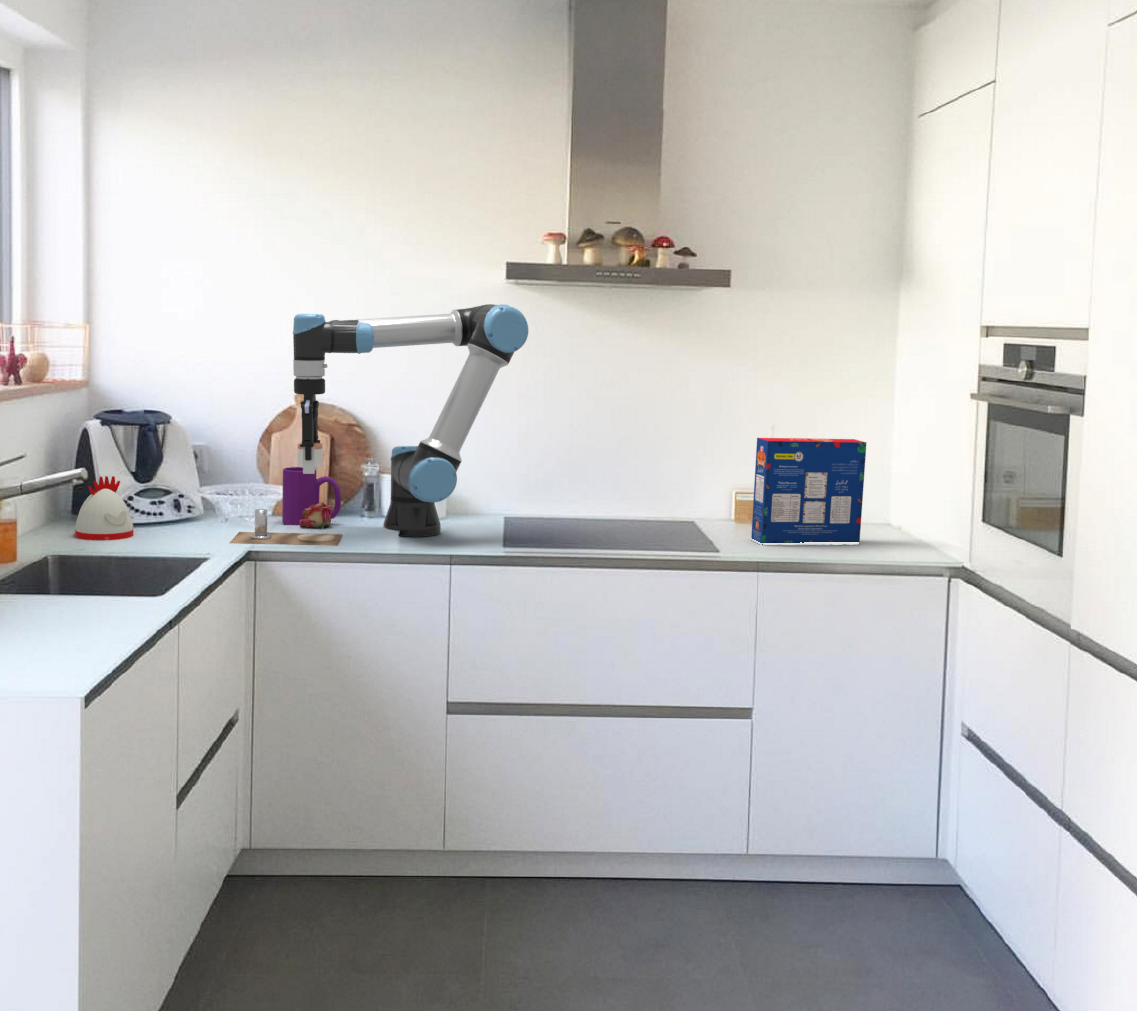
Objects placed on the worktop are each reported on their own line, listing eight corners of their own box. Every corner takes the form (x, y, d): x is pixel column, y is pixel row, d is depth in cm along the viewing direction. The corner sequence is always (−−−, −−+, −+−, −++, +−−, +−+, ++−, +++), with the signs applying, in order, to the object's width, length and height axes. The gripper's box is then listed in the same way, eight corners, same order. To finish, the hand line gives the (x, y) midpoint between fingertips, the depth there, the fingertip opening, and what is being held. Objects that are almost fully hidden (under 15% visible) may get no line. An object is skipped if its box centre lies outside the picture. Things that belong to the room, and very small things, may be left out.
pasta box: (847, 540, 385) (853, 439, 381) (859, 545, 378) (866, 442, 374) (751, 540, 379) (757, 437, 375) (761, 545, 371) (767, 440, 367)
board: (343, 540, 356) (343, 534, 355) (337, 551, 340) (337, 545, 340) (239, 537, 353) (239, 531, 353) (229, 549, 338) (229, 543, 337)
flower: (346, 526, 366) (335, 499, 369) (326, 523, 358) (315, 496, 360) (318, 543, 370) (307, 517, 372) (298, 541, 361) (287, 514, 363)
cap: (321, 467, 342) (321, 445, 341) (296, 467, 341) (296, 445, 340) (323, 464, 348) (323, 442, 347) (299, 464, 347) (299, 442, 346)
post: (272, 536, 349) (272, 508, 348) (269, 539, 344) (270, 511, 343) (252, 535, 348) (252, 508, 347) (249, 539, 343) (249, 511, 342)
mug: (283, 521, 381) (284, 466, 379) (341, 522, 383) (342, 467, 381) (280, 526, 372) (281, 470, 370) (340, 527, 374) (340, 472, 372)
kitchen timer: (143, 537, 350) (143, 477, 348) (92, 542, 340) (91, 481, 338) (115, 529, 359) (115, 471, 357) (64, 534, 349) (64, 474, 347)
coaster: (336, 536, 352) (336, 534, 352) (332, 542, 343) (332, 540, 343) (299, 535, 351) (299, 533, 351) (295, 541, 342) (295, 539, 342)
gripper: (320, 380, 332) (321, 477, 336) (328, 375, 351) (329, 466, 354) (288, 380, 331) (290, 476, 335) (298, 374, 350) (299, 466, 354)
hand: (310, 471), depth 345 cm, fingers closed on cap, 6 cm apart
